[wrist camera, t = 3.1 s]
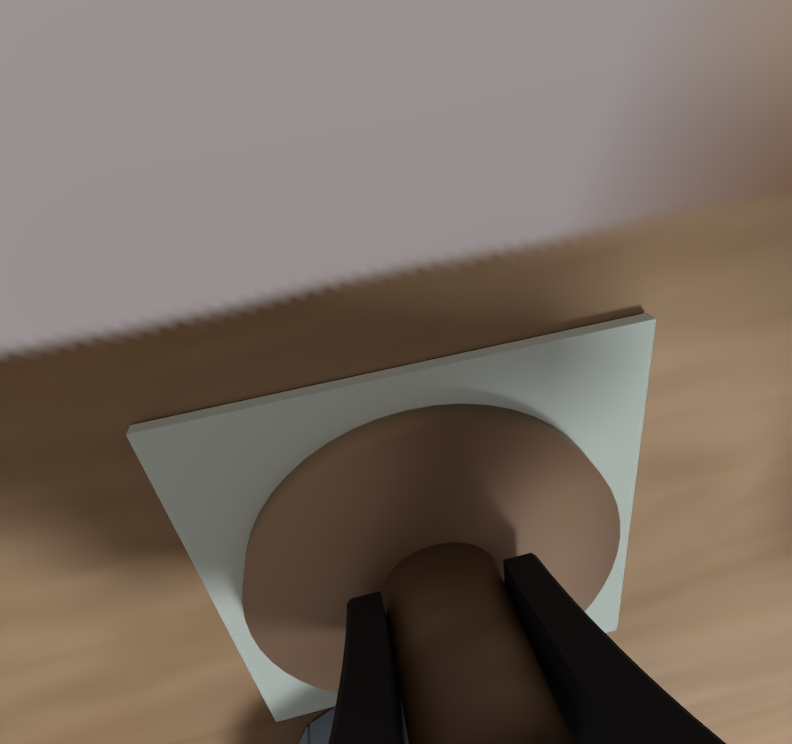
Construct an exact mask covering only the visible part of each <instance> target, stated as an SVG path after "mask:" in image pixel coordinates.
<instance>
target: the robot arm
mask: <svg viewBox="0 0 792 744" xmlns="http://www.w3.org/2000/svg"><path fill="white" fill-rule="evenodd" d="M503 564H504V582H505V586H506V588H507V590H508V593H509V595H510V597H511V600H512V602H513V604H514V607H515V609H516V611H517V613H518V616H519V618H520V620H521V623H522V625H523V627H524V630H525V632H526V634H527V637H528V639H529V641H530V644H531V646H532V648H533V650H534V653H535V655H536V657H537V660H538V662H539V664H540V667H541V669H542V671H543V674H544V676H545V678H546V681H547V683H548V685H549V687H550V690H551V692H552V694H553V697H554V699H555V701H556V704H557V706H558V708H559V711H560V713H561V715H562V718H563V720H564V722H565V724H566V727H567V729H568V731H569V734H570V736H571V738H572V741H573V744H726V743H725V742H723V741H722V740H721V739H720V738H719V737H718V736H716V735H715V734H714V733H713V732H712V731H710V730H709V729H708V728H707V727H706V726H704V725H703V724H702V723H701V722H700V721H698V720H697V719H696V718H695V717H694V716H693V715H692V714H690V713H689V712H688V711H687V710H686V709H685V708H684V707H682V706H681V705H680V704H679V703H678V702H677V701H676V700H675V699H673V698H672V697H671V696H670V695H669V694H668V693H667V692H666V691H665V690H663V689H662V688H661V687H660V686H659V685H658V684H657V683H656V682H655V681H654V680H653V679H652V678H651V677H649V676H648V675H647V674H646V673H645V672H644V671H643V670H642V669H641V668H640V667H639V666H638V665H637V664H636V663H635V662H634V661H633V660H632V659H631V658H630V657H628V656H627V655H626V654H625V653H624V652H623V651H622V650H621V649H620V648H619V647H618V646H617V645H616V644H615V643H614V641H613V640H612V639H611V638H610V637H609V636H608V635H607V634H606V633H605V632H604V631H603V630H602V629H601V628H600V627H599V626H598V625H597V624H596V623H595V622H594V621H593V620H592V619H591V618H590V617H589V616H588V615H587V614H586V613H585V612H584V610H583V609H582V608H581V607H580V606H579V605H578V604H577V603H576V602H575V601H574V599H573V598H572V597H571V596H570V595H569V594H568V593H567V592H566V591H565V589H564V588H563V587H562V586H561V585H560V584H559V583H558V581H557V580H556V579H555V578H554V577H553V576H552V574H551V573H550V572H549V571H548V570H547V568H546V567H545V566H544V565H543V563H542V562H541V561H540V560H539V558H538V557H537V556H536V555H535V554H533V553H528V554H524V555H520V556H516V557H512V558H508V559H504V560H503ZM328 744H409V742H408V736H407V731H406V725H405V719H404V714H403V708H402V702H401V697H400V691H399V686H398V680H397V674H396V668H395V661H394V656H393V650H392V645H391V639H390V633H389V628H388V622H387V617H386V612H385V608H384V604H383V601H382V597H381V593H380V591H378V592H374V593H370V594H367V595H363V596H359V597H355V598H351V599H350V600H349V601H348V602H347V619H346V635H345V645H344V654H343V662H342V670H341V677H340V683H339V689H338V695H337V701H336V707H335V713H334V718H333V724H332V729H331V734H330V738H329V743H328Z"/></svg>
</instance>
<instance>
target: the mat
mask: <svg viewBox="0 0 792 744" xmlns="http://www.w3.org/2000/svg"><path fill="white" fill-rule="evenodd" d="M655 324H656V318H654V317H653V316H651V315H649V314H648V313H644V314H639V315H635V316H630V317H625V318H621V319H616V320H612V321H607V322H602V323H598V324H593V325H589V326H584V327H579V328H575V329H570V330H566V331H561V332H556V333H552V334H547V335H543V336H538V337H533V338H529V339H524V340H520V341H515V342H510V343H506V344H501V345H497V346H492V347H487V348H483V349H478V350H474V351H469V352H464V353H460V354H455V355H451V356H446V357H441V358H437V359H432V360H428V361H423V362H418V363H414V364H409V365H405V366H400V367H395V368H391V369H386V370H382V371H377V372H372V373H368V374H363V375H359V376H354V377H349V378H345V379H340V380H336V381H331V382H326V383H322V384H317V385H313V386H308V387H303V388H299V389H294V390H290V391H285V392H280V393H276V394H271V395H267V396H262V397H257V398H253V399H248V400H244V401H239V402H235V403H230V404H225V405H221V406H216V407H212V408H207V409H202V410H198V411H193V412H189V413H184V414H179V415H175V416H170V417H166V418H161V419H156V420H152V421H147V422H143V423H138V424H133V425H130V427H129V429H128V431H127V433H126V436H127V438H128V440H129V442H130V444H131V446H132V448H133V450H134V452H135V454H136V455H137V457H138V459H139V461H140V463H141V465H142V467H143V469H144V471H145V473H146V475H147V477H148V478H149V480H150V482H151V484H152V486H153V488H154V490H155V492H156V494H157V496H158V498H159V499H160V501H161V503H162V505H163V507H164V509H165V511H166V513H167V515H168V517H169V519H170V520H171V522H172V524H173V526H174V528H175V530H176V532H177V534H178V536H179V538H180V540H181V542H182V543H183V545H184V547H185V549H186V551H187V553H188V555H189V557H190V559H191V561H192V563H193V564H194V566H195V568H196V570H197V572H198V574H199V576H200V578H201V580H202V582H203V584H204V586H205V587H206V589H207V591H208V593H209V595H210V597H211V599H212V601H213V603H214V605H215V607H216V608H217V610H218V612H219V614H220V616H221V618H222V620H223V622H224V624H225V626H226V628H227V629H228V631H229V633H230V635H231V637H232V639H233V641H234V643H235V645H236V647H237V649H238V651H239V652H240V654H241V656H242V658H243V660H244V662H245V664H246V666H247V668H248V670H249V672H250V673H251V675H252V677H253V679H254V681H255V683H256V685H257V687H258V689H259V691H260V693H261V695H262V696H263V698H264V700H265V702H266V704H267V706H268V708H269V710H270V712H271V714H272V716H273V717H274V719H275V721H276V722H279V721H282V720H286V719H290V718H293V717H297V716H301V715H304V714H308V713H312V712H316V711H319V710H323V709H327V708H330V707H334V706H336V701H337V695H338V693H334V692H330V691H326V690H323V689H319V688H317V687H314V686H311V685H309V684H306V683H304V682H301V681H300V680H298V679H296V678H294V677H292V676H291V675H289V674H287V673H285V672H284V671H283V670H282V669H280V668H279V667H278V666H276V665H275V664H274V663H272V662H271V661H270V660H269V659H268V657H267V656H266V655H265V654H264V653H263V652H262V651H261V650H260V649H259V647H258V645H257V644H256V642H255V641H254V639H253V638H252V636H251V634H250V631H249V629H248V626H247V624H246V621H245V617H244V611H243V605H242V588H243V576H244V566H245V556H246V549H247V545H248V541H249V537H250V533H251V530H252V528H253V525H254V523H255V521H256V518H257V516H258V514H259V512H260V510H261V509H262V507H263V506H264V504H265V502H266V501H267V499H268V498H269V496H270V494H271V493H272V492H273V491H274V490H275V489H276V487H277V486H278V485H279V484H280V483H281V481H282V480H283V479H284V478H285V477H286V476H287V475H288V474H289V473H290V472H291V471H292V470H293V469H294V468H295V467H297V466H298V465H299V464H300V463H301V462H302V461H303V460H304V459H305V458H307V457H308V456H310V455H311V454H312V453H314V452H315V451H317V450H318V449H319V448H321V447H322V446H324V445H325V444H327V443H328V442H330V441H332V440H334V439H335V438H337V437H339V436H341V435H343V434H344V433H346V432H348V431H350V430H352V429H354V428H356V427H359V426H361V425H364V424H366V423H369V422H371V421H373V420H376V419H378V418H381V417H385V416H388V415H392V414H395V413H399V412H402V411H405V410H411V409H416V408H422V407H427V406H433V405H446V404H481V405H491V406H497V407H502V408H508V409H513V410H516V411H519V412H522V413H525V414H528V415H532V416H534V417H536V418H538V419H540V420H542V421H544V422H546V423H548V424H551V425H553V426H554V427H555V428H557V429H558V430H560V431H561V432H562V433H564V434H565V435H567V436H568V437H569V438H570V439H571V440H572V441H573V442H574V443H575V444H576V445H577V446H578V447H579V448H580V449H581V450H582V451H583V452H584V454H585V455H586V456H587V457H588V459H589V460H590V461H591V462H592V463H593V465H594V466H595V467H596V468H597V470H598V471H599V472H600V473H601V475H602V476H603V478H604V479H605V481H606V482H607V484H608V485H609V487H610V488H611V490H612V493H613V495H614V498H615V500H616V503H617V506H618V511H619V517H620V541H619V547H618V552H617V556H616V559H615V562H614V565H613V568H612V570H611V572H610V574H609V576H608V578H607V580H606V582H605V584H604V586H603V588H602V589H601V591H600V592H599V594H598V595H597V597H596V598H595V600H594V601H593V602H592V604H591V605H590V606H589V607H588V608H587V610H586V611H585V613H586V614H587V615H588V616H589V617H590V618H591V619H592V620H593V621H594V622H595V623H596V624H597V625H598V626H599V627H600V628H601V629H602V630H603V631H604V632H605V633H607V632H610V631H614V630H617V624H618V616H619V608H620V600H621V592H622V584H623V576H624V569H625V561H626V553H627V545H628V537H629V529H630V521H631V513H632V506H633V498H634V490H635V482H636V474H637V466H638V458H639V450H640V443H641V435H642V427H643V419H644V411H645V403H646V395H647V387H648V380H649V372H650V364H651V356H652V348H653V340H654V332H655Z"/></svg>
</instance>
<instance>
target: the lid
mask: <svg viewBox="0 0 792 744" xmlns="http://www.w3.org/2000/svg"><path fill="white" fill-rule="evenodd" d="M619 541H620V517H619V511H618V506H617V503H616V500H615V498H614V495H613V493H612V490H611V488H610V487H609V485H608V484H607V482H606V481H605V479H604V478H603V476H602V475H601V473H600V472H599V471H598V470H597V468H596V467H595V466H594V465H593V463H592V462H591V461H590V460H589V459H588V457H587V456H586V455H585V454H584V452H583V451H582V450H581V449H580V448H579V447H578V446H577V445H576V444H575V443H574V442H573V441H572V440H571V439H570V438H569V437H568V436H567V435H565V434H564V433H562V432H561V431H560V430H558V429H557V428H555V427H554V426H553V425H551V424H548V423H546V422H544V421H542V420H540V419H538V418H536V417H534V416H532V415H528V414H525V413H522V412H519V411H516V410H513V409H508V408H502V407H497V406H491V405H481V404H446V405H433V406H427V407H422V408H416V409H411V410H405V411H402V412H399V413H395V414H392V415H388V416H385V417H381V418H378V419H376V420H373V421H371V422H369V423H366V424H364V425H361V426H359V427H356V428H354V429H352V430H350V431H348V432H346V433H344V434H343V435H341V436H339V437H337V438H335V439H334V440H332V441H330V442H328V443H327V444H325V445H324V446H322V447H321V448H319V449H318V450H317V451H315V452H314V453H312V454H311V455H310V456H308V457H307V458H305V459H304V460H303V461H302V462H301V463H300V464H299V465H298V466H297V467H295V468H294V469H293V470H292V471H291V472H290V473H289V474H288V475H287V476H286V477H285V478H284V479H283V480H282V481H281V483H280V484H279V485H278V486H277V487H276V489H275V490H274V491H273V492H272V493H271V494H270V496H269V498H268V499H267V501H266V502H265V504H264V506H263V507H262V509H261V510H260V512H259V514H258V516H257V518H256V521H255V523H254V525H253V528H252V530H251V533H250V537H249V541H248V545H247V549H246V556H245V566H244V576H243V588H242V605H243V611H244V617H245V621H246V624H247V626H248V629H249V631H250V634H251V636H252V638H253V639H254V641H255V642H256V644H257V645H258V647H259V649H260V650H261V651H262V652H263V653H264V654H265V655H266V656H267V657H268V659H269V660H270V661H271V662H272V663H274V664H275V665H276V666H278V667H279V668H280V669H282V670H283V671H284V672H285V673H287V674H289V675H291V676H292V677H294V678H296V679H298V680H300V681H301V682H304V683H306V684H309V685H311V686H314V687H317V688H319V689H323V690H326V691H330V692H334V693H338V689H339V683H340V677H341V670H342V662H343V654H344V645H345V635H346V619H347V602H348V601H349V600H350V599H351V598H355V597H359V596H363V595H367V594H370V593H374V592H378V591H380V593H381V597H382V601H383V604H384V608H385V612H386V617H387V622H388V628H389V633H390V639H391V645H392V650H393V656H394V661H395V668H396V674H397V680H398V686H399V691H400V697H401V702H402V708H403V714H404V719H405V725H406V731H407V736H408V742H409V744H573V741H572V738H571V736H570V734H569V731H568V729H567V727H566V724H565V722H564V720H563V718H562V715H561V713H560V711H559V708H558V706H557V704H556V701H555V699H554V697H553V694H552V692H551V690H550V687H549V685H548V683H547V681H546V678H545V676H544V674H543V671H542V669H541V667H540V664H539V662H538V660H537V657H536V655H535V653H534V650H533V648H532V646H531V644H530V641H529V639H528V637H527V634H526V632H525V630H524V627H523V625H522V623H521V620H520V618H519V616H518V613H517V611H516V609H515V607H514V604H513V602H512V600H511V597H510V595H509V593H508V590H507V588H506V586H505V582H504V564H503V560H504V559H508V558H512V557H516V556H520V555H524V554H528V553H533V554H535V555H536V556H537V557H538V558H539V560H540V561H541V562H542V563H543V565H544V566H545V567H546V568H547V570H548V571H549V572H550V573H551V574H552V576H553V577H554V578H555V579H556V580H557V581H558V583H559V584H560V585H561V586H562V587H563V588H564V589H565V591H566V592H567V593H568V594H569V595H570V596H571V597H572V598H573V599H574V601H575V602H576V603H577V604H578V605H579V606H580V607H581V608H582V609H583V610H584V612H585V611H586V610H587V608H588V607H589V606H590V605H591V604H592V602H593V601H594V600H595V598H596V597H597V595H598V594H599V592H600V591H601V589H602V588H603V586H604V584H605V582H606V580H607V578H608V576H609V574H610V572H611V570H612V568H613V565H614V562H615V559H616V556H617V552H618V547H619Z"/></svg>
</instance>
